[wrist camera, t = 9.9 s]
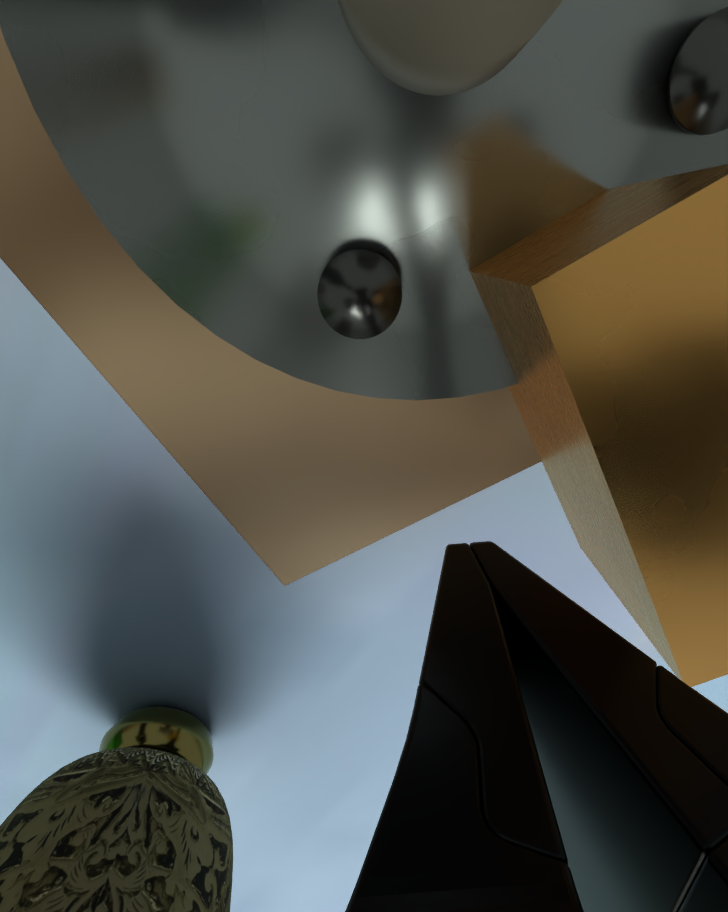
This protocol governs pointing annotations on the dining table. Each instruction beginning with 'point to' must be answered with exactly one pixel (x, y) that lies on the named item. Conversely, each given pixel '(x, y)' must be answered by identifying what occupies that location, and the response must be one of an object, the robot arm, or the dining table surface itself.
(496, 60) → the post board
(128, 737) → the cup
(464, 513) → the dining table surface
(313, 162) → the flange plate
